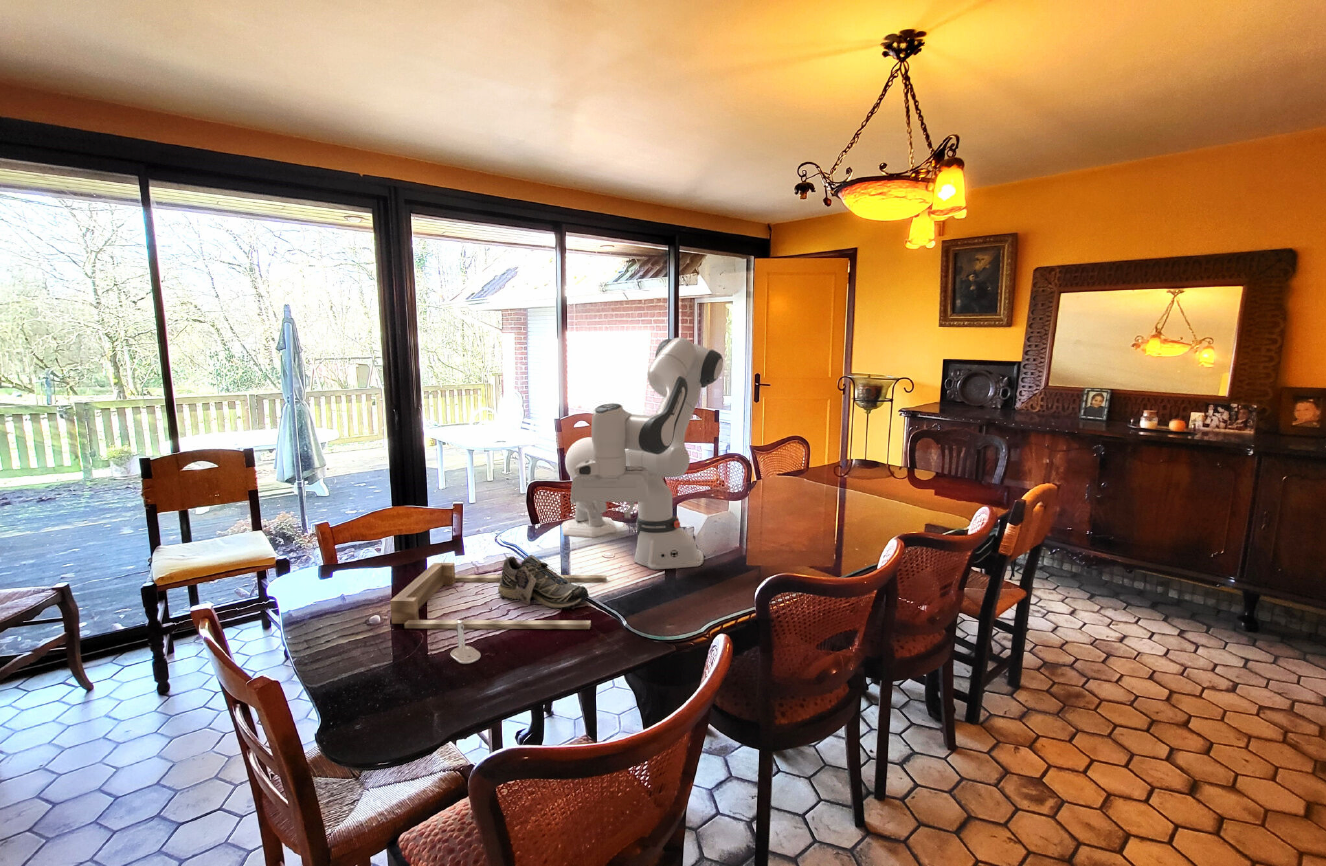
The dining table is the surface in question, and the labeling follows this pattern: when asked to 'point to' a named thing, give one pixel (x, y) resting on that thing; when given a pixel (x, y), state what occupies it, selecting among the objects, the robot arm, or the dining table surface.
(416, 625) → the strip
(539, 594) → the running shoe
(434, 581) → the bar
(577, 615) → the dining table surface
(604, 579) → the lane strip right
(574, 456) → the white toy figurine
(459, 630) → the white stemmed disc stand
